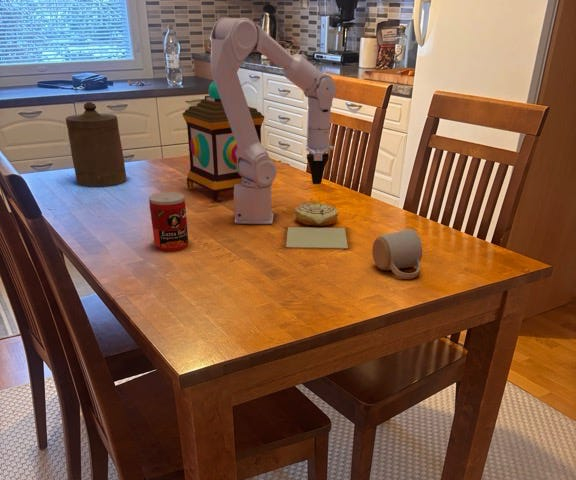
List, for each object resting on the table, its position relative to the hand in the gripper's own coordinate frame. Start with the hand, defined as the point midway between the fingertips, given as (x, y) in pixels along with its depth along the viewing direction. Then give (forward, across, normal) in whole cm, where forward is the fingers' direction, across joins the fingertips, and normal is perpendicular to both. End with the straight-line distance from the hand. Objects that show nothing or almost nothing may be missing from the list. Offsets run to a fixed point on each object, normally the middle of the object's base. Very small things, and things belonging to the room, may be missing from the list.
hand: (316, 183), depth 153 cm
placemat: (+7, -23, 0) cm, 24 cm away
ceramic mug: (+7, -42, -17) cm, 46 cm away
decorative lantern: (+7, +16, +26) cm, 31 cm away
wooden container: (+7, +26, +66) cm, 71 cm away
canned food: (+7, -30, +33) cm, 45 cm away
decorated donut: (+7, -11, 0) cm, 13 cm away
